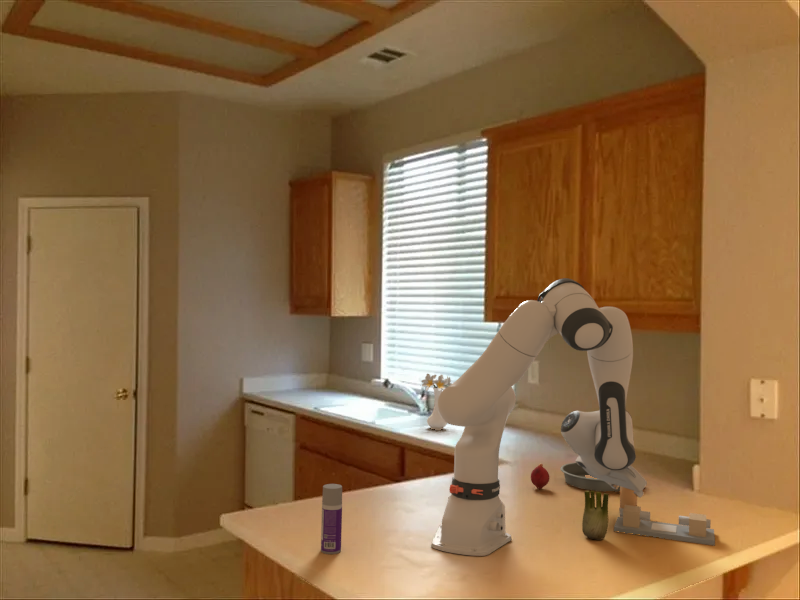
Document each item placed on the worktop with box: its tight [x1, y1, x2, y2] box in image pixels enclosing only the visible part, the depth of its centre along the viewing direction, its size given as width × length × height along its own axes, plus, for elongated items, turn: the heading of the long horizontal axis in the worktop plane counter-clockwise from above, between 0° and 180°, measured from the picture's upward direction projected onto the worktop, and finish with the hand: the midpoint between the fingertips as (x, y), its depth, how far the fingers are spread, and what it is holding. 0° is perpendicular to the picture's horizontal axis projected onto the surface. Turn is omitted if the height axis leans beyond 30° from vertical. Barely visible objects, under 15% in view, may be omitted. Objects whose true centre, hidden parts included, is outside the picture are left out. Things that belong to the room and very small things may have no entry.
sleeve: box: [619, 486, 638, 512], centre depth 205 cm, size 5×5×9 cm
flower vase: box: [421, 373, 453, 431], centre depth 332 cm, size 13×18×25 cm
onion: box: [530, 463, 551, 490], centre depth 229 cm, size 6×6×8 cm
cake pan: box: [560, 462, 620, 492], centre depth 239 cm, size 25×25×4 cm
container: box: [320, 483, 343, 555], centre depth 169 cm, size 5×5×15 cm
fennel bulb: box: [581, 490, 610, 541], centre depth 182 cm, size 6×5×12 cm
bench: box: [613, 505, 716, 546], centre depth 188 cm, size 10×24×5 cm, turn 68°
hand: (628, 491), depth 204 cm, fingers open, 8 cm apart
